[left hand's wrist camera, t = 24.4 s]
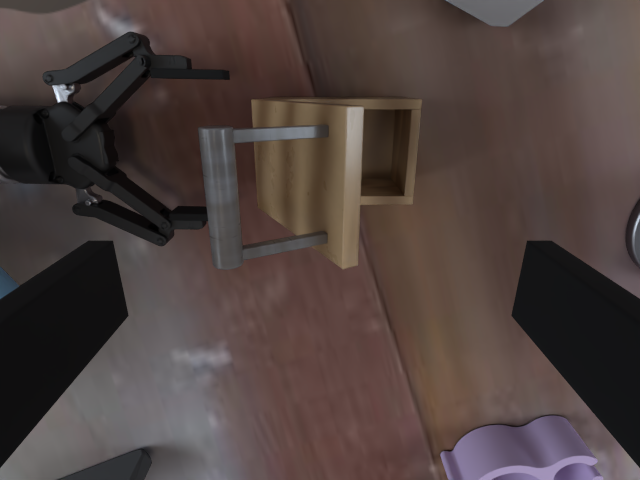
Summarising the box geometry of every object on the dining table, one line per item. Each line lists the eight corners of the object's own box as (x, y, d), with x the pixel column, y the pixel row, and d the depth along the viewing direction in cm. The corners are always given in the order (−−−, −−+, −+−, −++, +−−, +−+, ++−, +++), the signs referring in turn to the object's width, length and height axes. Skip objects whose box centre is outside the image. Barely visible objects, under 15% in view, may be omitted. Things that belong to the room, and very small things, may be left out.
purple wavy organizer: (560, 399, 58) (590, 439, 51) (578, 454, 62) (609, 497, 56) (434, 443, 61) (447, 485, 55) (459, 492, 65) (474, 537, 59)
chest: (402, 96, 43) (422, 99, 34) (396, 184, 46) (412, 204, 38) (270, 97, 43) (258, 99, 34) (274, 184, 46) (264, 204, 38)
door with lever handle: (364, 105, 21) (206, 109, 18) (358, 265, 25) (225, 298, 21) (263, 99, 34) (159, 100, 30) (269, 205, 38) (176, 219, 34)
